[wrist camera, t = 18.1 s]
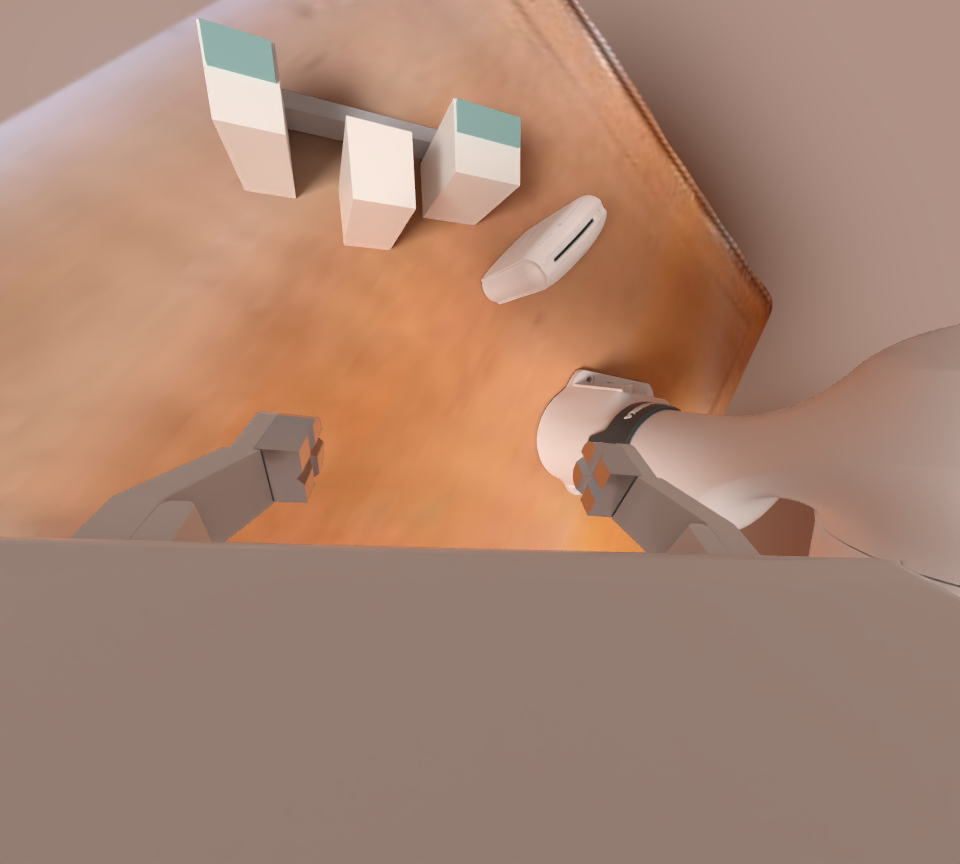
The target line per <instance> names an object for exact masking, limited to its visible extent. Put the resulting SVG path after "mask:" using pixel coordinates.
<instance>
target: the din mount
mask: <svg viewBox="0 0 960 864" xmlns="http://www.w3.org/2000/svg"><path fill="white" fill-rule="evenodd" d="M196 22H197V28H198V34H199V41H200V47H201V53H202V60H203V66H204V72H205V79H206V85H207V91H208V97H209V104H210V110H211V116H212V120H213V123H214V125H215V127H216V129H217V131H218V133H219V136H220V138H221V140H222V142H223V144H224V147H225V149H226V151H227V153H228V155H229V157H230V160H231V162H232V164H233V166H234V168H235V171H236V173H237V175H238V177H239V179H240V181H241V184H242V186H243V188H244V190H245V191H250V192H257V193H263V194H270V195H277V196H283V197H290V198H296V194H295V185H294V177H293V168H292V160H291V152H290V143H289V135H288V129H290V130H295V131H299V132H304V133H308V134H313V135H317V136H322V137H326V138H331V139H335V140H340V141H343V139H344V130H345V120H346V115H347V116H351V117H355V118H359V119H363V120H367V121H371V122H375V123H379V124H383V125H386V126H390V127H394V128H398V129H402V130H406V131H410V132H412V141H413V157H416V158H420V159H423V160H422V162H421V164H420V168H421V189H422V211H423V218H428V219H434V220H441V221H448V222H454V223H461V224H467V225H474V226H475V225H476V224H477V223H478V222H479V221H480V220H481V219H482V218H484V217H485V216H486V215H487V214H488V213H489V212H490V211H492V210H493V209H494V208H495V207H496V206H497V205H498V204H500V203H501V202H502V201H503V200H504V199H505V198H506V197H508V196H509V195H510V194H511V193H512V192H513V191H514V190H516V189H517V188H518V187H519V186H520V146H521V118H520V117H517V116H514V115H511V114H507V113H504V112H501V111H498V110H494V109H491V108H488V107H485V106H481V105H478V104H475V103H472V102H469V101H465V100H462V99H459V98H458V99H455V98H453V100H452V102H451V104H450V106H449V108H448V110H447V112H446V114H445V116H444V118H443V120H442V122H441V124H440V126H439V128H438V130H436V129H433V128H429V127H425V126H421V125H417V124H414V123H410V122H406V121H402V120H398V119H395V118H391V117H387V116H383V115H379V114H375V113H372V112H368V111H364V110H360V109H356V108H353V107H349V106H345V105H341V104H337V103H334V102H330V101H326V100H322V99H318V98H315V97H311V96H307V95H303V94H299V93H296V92H292V91H288V90H284V89H282V88H281V81H280V74H279V68H278V61H277V54H276V48H275V43H274V42H271V40H268V39H265V38H262V37H258V36H255V35H252V34H249V33H245V32H242V31H239V30H236V29H233V28H229V27H226V26H223V25H220V24H216V23H213V22H210V21H207V20H203V19H200V18H199V19H196Z"/></svg>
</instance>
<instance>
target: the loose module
mask: <svg viewBox="0 0 960 864" xmlns="http://www.w3.org/2000/svg"><path fill="white" fill-rule="evenodd" d="M339 198H340V208H341V219H342V230H343V240H344V245H348V246H357V247H366V248H375V249H385V250H390V249H391V248H392V246H393V245H394V243H395V241H396V240H397V238H398V237H399V235H400V233H401V232H402V230H403V229H404V227H405V225H406V224H407V222H408V221H409V219H410V218H411V216H412V214H413V213H414V211H415V210H416V200H415V180H414V160H413V141H412V132H410V131H406V130H402V129H398V128H394V127H390V126H386V125H383V124H379V123H375V122H371V121H367V120H363V119H359V118H355V117H351V116H347V115H346V120H345V130H344V139H343V149H342V159H341V169H340V179H339Z"/></svg>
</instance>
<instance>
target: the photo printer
mask: <svg viewBox="0 0 960 864" xmlns="http://www.w3.org/2000/svg"><path fill="white" fill-rule="evenodd" d="M606 217H607V211H606V210H605V209H604V207H603V206H602V203H601V200H600V199H599V198H597V197H595V196H592V195H584V196H581V197H579V198H577V199H575V200H574V201H572V202H571V203H569V204H568V205H566V206H564V207H563V208H561V209H560V210H558V211H556V212H555V213H553V214H552V215H550V216H549V217H547V218H545V219H544V220H542V221H541V222H539V223H538V224H536V225H535V226H533V227H532V228H530V229H529V230H527V231H526V232H525V233H523V234H522V235H521V236H520V237H519V238H518V239H517V240H516V241H515V242H514V243H513V244H512V245H511V246H510V247H509V248H508V249H507V250H506V251H505V252H504V253H503V254H502V255H501V256H500V258H499V259H498V260H497V261H496V262H495V263H494V264H493V265H492V266H491V268H490V269H489V270H488V271H487V272H486V274H485V275H484V277H483V278H482V280H481V282H482V288H483V291H484V293H485V295H486V296H487V298H489V299H490V300H491V301H494V302H497V303H498V304H503V303H506V302H509V301H512V300H515V299H518V298H521V297H524V296H527V295H530V294H533V293H536V292H540V291H543V290H545V289H547V288H548V287H550V286H551V285H553V284H555V283H556V282H557V281H558V280H559V279H560V278H562V277H563V276H564V275H565V274H566V273H567V272H568V271H569V270H570V269H571V268H572V267H573V266H574V265H575V264H576V263H577V262H578V261H579V260H580V259H581V257H582V256H583V255H584V254H585V253H586V252H587V251H588V249H589V248H590V247H591V246H592V245H593V243H594V242H595V240H596V239H597V237H598V236H599V234H600V232H601V231H602V229H603V227H604V224H605V221H606Z"/></svg>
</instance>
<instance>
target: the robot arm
mask: <svg viewBox="0 0 960 864" xmlns="http://www.w3.org/2000/svg"><path fill="white" fill-rule="evenodd" d="M587 378H588V381H587ZM321 431H322V426H321V420H320V419H319V417H311V416H302V415H293V414H283V413H281V414H280V413H273V412H262V411H261V412H258V413H256V415H255V416H254V417H253V418H252V420H251V421H250V422H249V424H248V425H247V426H246V427H245V429H244V430H243V431H242V433H241V434H240V435H239V436H238V438H237V439H236V440H235V441H234V443H233V444H232V445H231V447H230V448H229V447H223V448H220V449H218V450H216V451H214V452H211V453H209V454H207V455H205V456H202V457H200V458H198V459H196V460H193V461H191V462H189V463H187V464H184V465H182V466H180V467H178V468H175V469H173V470H171V471H169V472H166V473H164V474H162V475H160V476H157V477H155V478H153V479H151V480H148V481H146V482H144V483H141V484H139V485H137V486H135V487H132V488H130V489H128V490H126V491H123V492H121V493H119V494H117V495H114V496H113V497H112V498H111V499H109V500H108V501H107V502H106V503H105V504H104V505H103V506H102V507H101V508H100V509H99V510H98V511H97V512H96V513H95V514H94V515H93V516H92V517H91V518H90V519H89V520H88V521H87V522H86V523H85V524H84V525H83V526H82V527H81V528H80V529H79V530H78V531H77V532H76V533H75V534H74V535H73V536H71V537H70V538H35V537H0V864H960V324H959V325H954V326H949V327H945V328H940V329H936V330H933V331H929V332H926V333H923V334H919V335H917V336H914V337H911V338H908V339H906V340H903V341H901V342H899V343H896V344H894V345H892V346H890V347H887V348H886V349H884V350H882V351H880V352H878V353H876V354H874V355H873V356H871V357H870V358H868V359H867V360H865V361H864V362H862V363H861V364H860V365H859V366H857V367H856V368H855V369H854V370H853V371H851V372H850V373H849V374H848V375H847V376H845V377H844V378H842V379H841V380H840V381H838V382H837V383H835V384H834V385H832V386H831V387H829V388H828V389H826V390H824V391H823V392H821V393H819V394H817V395H816V396H813V397H812V398H809V399H807V400H805V401H803V402H801V403H798V404H796V405H793V406H791V407H788V408H785V409H781V410H778V411H774V412H770V413H765V414H759V415H752V416H727V415H711V414H700V413H691V412H683V411H681V410H679V409H678V408H675V407H672V406H671V405H670V404H669V402H668V401H667V400H666V399H662V398H656V397H654V395H653V391H652V388H651V386H650V385H649V383H643V382H638V381H634V380H629V379H624V378H620V377H615V376H611V375H606V374H601V373H597V372H592V371H588V370H583V369H578V370H577V371H575V372H574V374H573V375H572V377H571V379H570V380H569V382H568V384H567V386H566V387H565V388H564V389H563V390H562V391H561V392H560V393H559V394H558V395H557V396H555V397H554V398H553V400H552V401H551V402H550V403H549V405H548V406H547V408H546V409H545V411H544V413H543V415H542V417H541V420H540V423H539V427H538V432H537V449H538V454H539V457H540V460H541V462H542V464H543V466H544V467H545V469H546V470H547V471H548V472H549V473H550V474H551V475H553V476H554V477H556V478H558V479H559V480H561V481H562V482H563V483H564V485H565V487H566V489H567V490H568V491H569V492H570V493H572V494H574V495H579V494H583V495H582V497H581V501H582V504H583V506H584V508H585V510H586V513H587V515H589V516H602V517H612V519H613V520H614V521H615V522H616V523H617V524H618V525H619V526H620V527H621V528H622V529H623V530H624V531H625V532H626V533H627V534H628V535H629V536H630V537H631V538H632V539H633V540H634V541H635V542H637V543H638V544H639V545H640V546H641V547H642V548H643V549H644V550H645V551H646V552H647V553H638V552H597V551H559V550H521V549H479V548H438V547H397V546H356V545H316V544H275V543H235V542H225V541H227V540H228V539H229V538H231V537H232V536H233V535H234V534H236V533H237V532H238V531H239V530H241V529H242V528H243V527H244V526H246V525H247V524H248V523H250V522H251V521H252V520H253V519H255V518H256V517H257V516H258V515H260V514H261V513H262V512H263V511H265V510H266V509H267V508H269V507H270V506H271V505H272V504H273V502H303V503H308V500H309V498H310V495H311V493H312V490H313V488H314V486H315V483H314V477H315V476H316V475H318V474H319V473H320V471H321V468H322V464H323V459H324V442H323V441H322V440H321V439H320V438H319V436H320V433H321ZM779 498H786V499H791V500H795V501H799V502H801V503H804V504H806V505H809V506H811V507H812V508H814V511H815V513H814V515H815V525H814V530H813V535H812V541H811V546H810V551H809V557H801V556H799V557H798V556H761V555H759V553H758V552H757V551H756V550H755V548H754V547H753V546H752V545H751V544H750V542H749V541H748V540H747V539H746V538H745V537H744V535H743V534H742V533H741V532H740V531H739V529H742V528H744V527H746V526H748V525H749V524H751V523H752V522H754V521H755V520H757V519H758V518H759V517H760V516H762V515H763V514H764V513H765V512H766V511H767V510H768V509H769V508H770V507H771V506H772V505H773V504H774V503H775V502H776V501H777V500H778V499H779Z"/></svg>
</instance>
